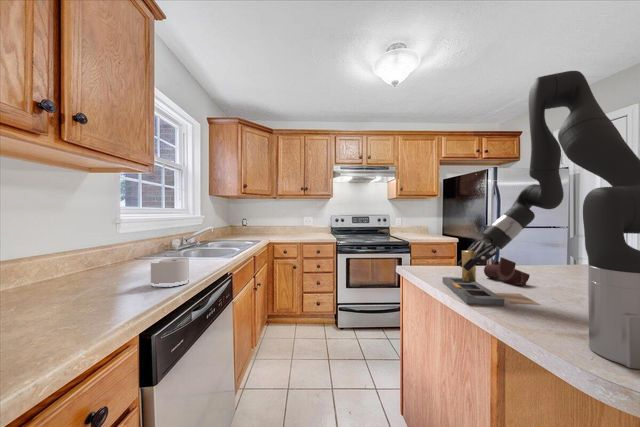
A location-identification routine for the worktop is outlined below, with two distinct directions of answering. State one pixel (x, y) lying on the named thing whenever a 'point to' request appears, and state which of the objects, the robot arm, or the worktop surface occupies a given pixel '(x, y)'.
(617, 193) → the robot arm
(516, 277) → the bracket
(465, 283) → the grey flat frame
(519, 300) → the tan rectangular plate
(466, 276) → the gold domed cylinder
